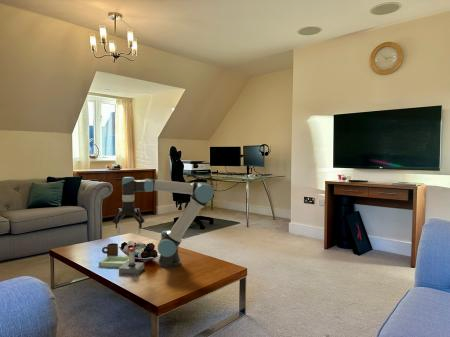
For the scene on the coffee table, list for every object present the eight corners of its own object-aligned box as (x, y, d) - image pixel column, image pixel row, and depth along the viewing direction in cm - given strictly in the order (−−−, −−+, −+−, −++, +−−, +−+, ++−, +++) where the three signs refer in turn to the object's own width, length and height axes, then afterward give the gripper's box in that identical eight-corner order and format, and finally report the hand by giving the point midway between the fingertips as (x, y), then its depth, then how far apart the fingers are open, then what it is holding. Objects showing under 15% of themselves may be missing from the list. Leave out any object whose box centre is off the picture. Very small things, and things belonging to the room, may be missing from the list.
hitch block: (144, 268, 204) (144, 262, 204) (137, 275, 192) (137, 269, 192) (126, 267, 206) (126, 261, 205) (118, 274, 194) (118, 268, 193)
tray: (132, 261, 219) (132, 256, 218) (124, 268, 205) (124, 263, 205) (108, 259, 220) (108, 255, 220) (98, 266, 206) (98, 262, 206)
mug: (104, 261, 217) (104, 248, 217) (99, 258, 222) (99, 245, 222) (120, 257, 226) (120, 244, 226) (114, 254, 231) (114, 242, 231)
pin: (136, 270, 201) (136, 247, 200) (133, 272, 197) (133, 249, 196) (129, 270, 201) (130, 247, 201) (127, 272, 197) (127, 249, 196)
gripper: (149, 200, 201) (149, 232, 202) (111, 200, 202) (112, 231, 203) (145, 201, 194) (146, 235, 195) (106, 201, 195) (107, 234, 196)
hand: (128, 233), depth 199 cm, fingers open, 13 cm apart
